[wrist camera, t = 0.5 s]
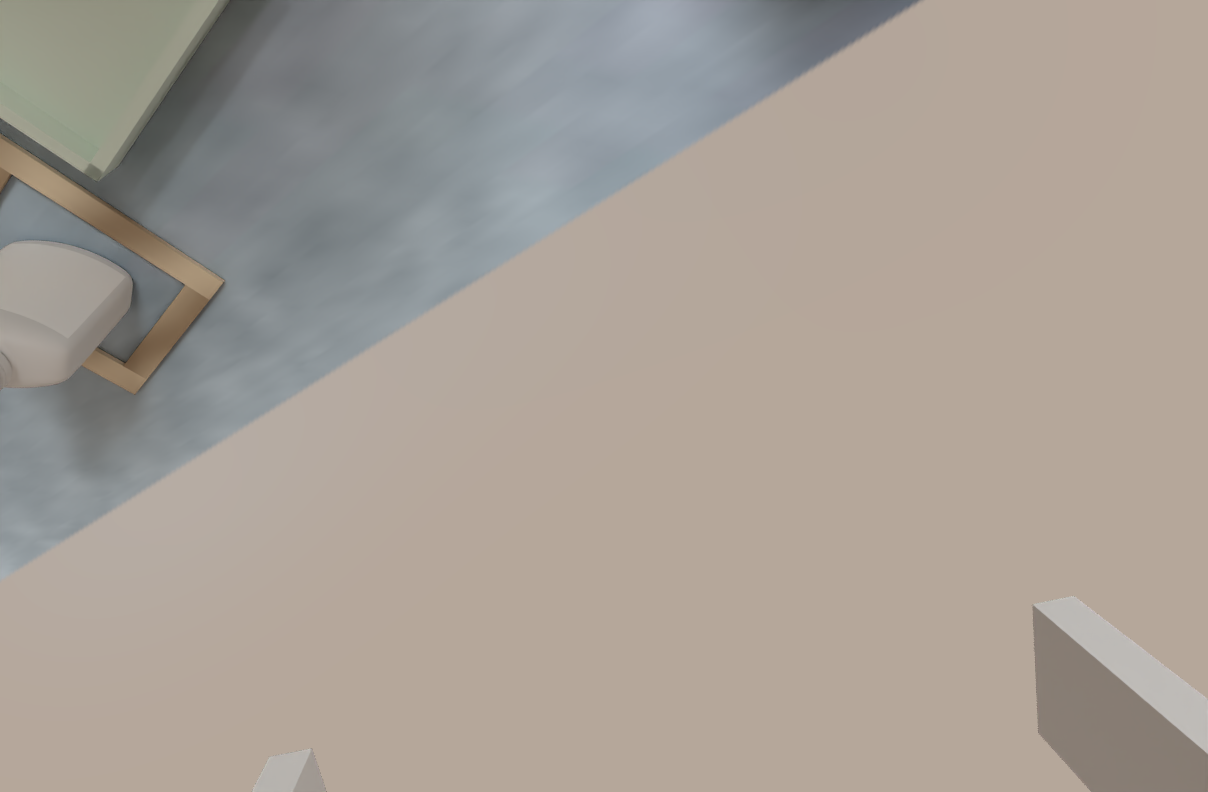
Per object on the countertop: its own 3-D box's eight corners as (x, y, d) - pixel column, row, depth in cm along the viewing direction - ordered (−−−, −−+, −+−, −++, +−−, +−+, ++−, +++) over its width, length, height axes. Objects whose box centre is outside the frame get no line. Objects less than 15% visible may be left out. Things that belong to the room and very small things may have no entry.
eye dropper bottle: (45, 205, 37) (-123, 326, 27) (152, 286, 39) (36, 423, 29) (-8, 262, 38) (-186, 398, 28) (100, 336, 41) (-28, 484, 31)
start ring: (-86, 269, 37) (-90, 271, 37) (-4, 130, 35) (-8, 132, 34) (136, 391, 43) (134, 394, 42) (224, 280, 40) (223, 282, 39)
